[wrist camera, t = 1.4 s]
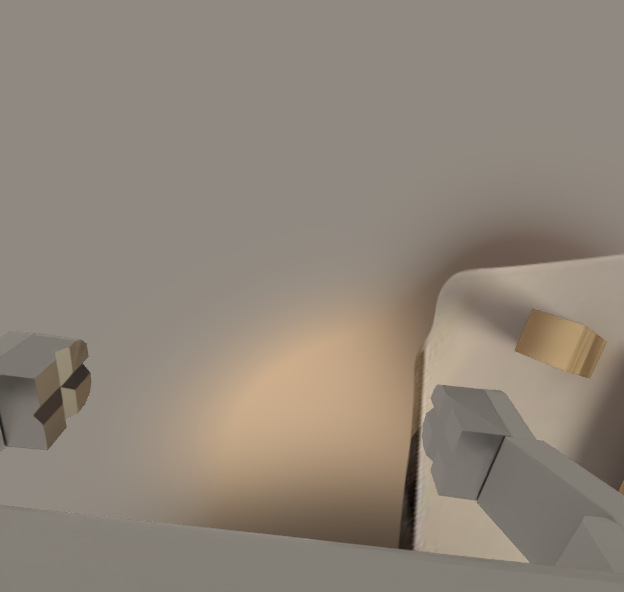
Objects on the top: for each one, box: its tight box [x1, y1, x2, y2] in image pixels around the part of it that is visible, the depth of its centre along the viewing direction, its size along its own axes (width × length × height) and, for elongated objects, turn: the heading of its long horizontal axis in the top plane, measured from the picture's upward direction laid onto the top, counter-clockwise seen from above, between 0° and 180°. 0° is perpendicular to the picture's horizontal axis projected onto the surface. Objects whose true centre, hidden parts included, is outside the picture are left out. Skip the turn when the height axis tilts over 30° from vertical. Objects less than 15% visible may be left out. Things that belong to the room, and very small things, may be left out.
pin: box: [515, 309, 606, 378], centre depth 34 cm, size 4×4×10 cm
